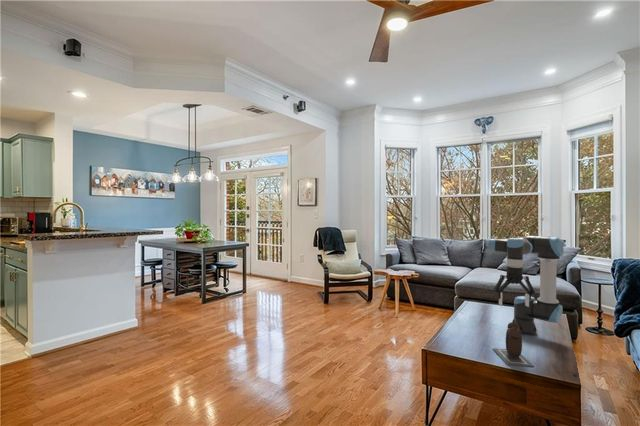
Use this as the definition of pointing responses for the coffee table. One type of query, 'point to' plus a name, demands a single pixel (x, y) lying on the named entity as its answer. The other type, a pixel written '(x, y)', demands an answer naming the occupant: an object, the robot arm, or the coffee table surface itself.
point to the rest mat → (512, 358)
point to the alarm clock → (513, 339)
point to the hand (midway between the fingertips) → (513, 305)
